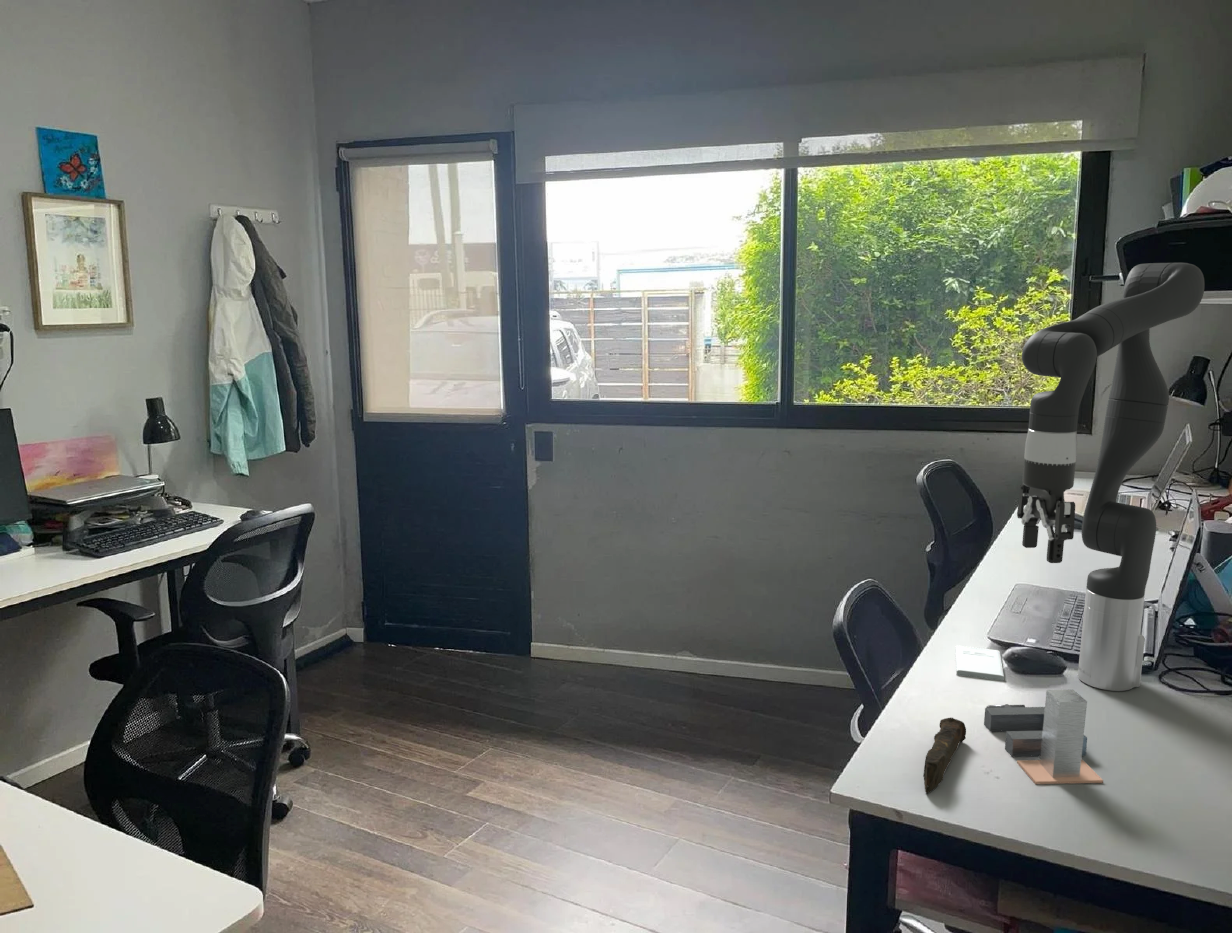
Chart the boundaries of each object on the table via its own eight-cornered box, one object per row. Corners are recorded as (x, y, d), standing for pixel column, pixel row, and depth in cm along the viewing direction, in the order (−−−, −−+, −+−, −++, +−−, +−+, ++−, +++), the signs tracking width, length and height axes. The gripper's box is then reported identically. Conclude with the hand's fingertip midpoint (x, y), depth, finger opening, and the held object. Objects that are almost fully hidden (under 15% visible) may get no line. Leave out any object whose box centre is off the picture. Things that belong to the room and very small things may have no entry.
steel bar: (1065, 762, 139) (1073, 689, 137) (1079, 777, 135) (1087, 701, 133) (1039, 763, 139) (1046, 689, 137) (1052, 777, 135) (1059, 702, 133)
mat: (1081, 761, 141) (1081, 759, 140) (1102, 782, 135) (1103, 780, 135) (1016, 762, 140) (1017, 760, 140) (1035, 783, 134) (1035, 781, 134)
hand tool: (940, 736, 149) (941, 710, 148) (965, 742, 147) (967, 716, 146) (907, 791, 134) (908, 761, 133) (935, 799, 131) (937, 769, 130)
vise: (1042, 713, 156) (1044, 697, 155) (1085, 755, 142) (1087, 737, 142) (975, 714, 156) (976, 698, 155) (1011, 756, 142) (1013, 739, 141)
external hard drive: (956, 677, 172) (955, 652, 183) (1003, 683, 169) (999, 657, 180) (956, 669, 171) (955, 644, 183) (1004, 675, 169) (1000, 649, 180)
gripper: (1096, 466, 140) (1086, 567, 144) (1051, 449, 154) (1043, 542, 158) (1048, 466, 140) (1039, 568, 143) (1007, 449, 154) (999, 542, 157)
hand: (1041, 554), depth 150 cm, fingers open, 8 cm apart
